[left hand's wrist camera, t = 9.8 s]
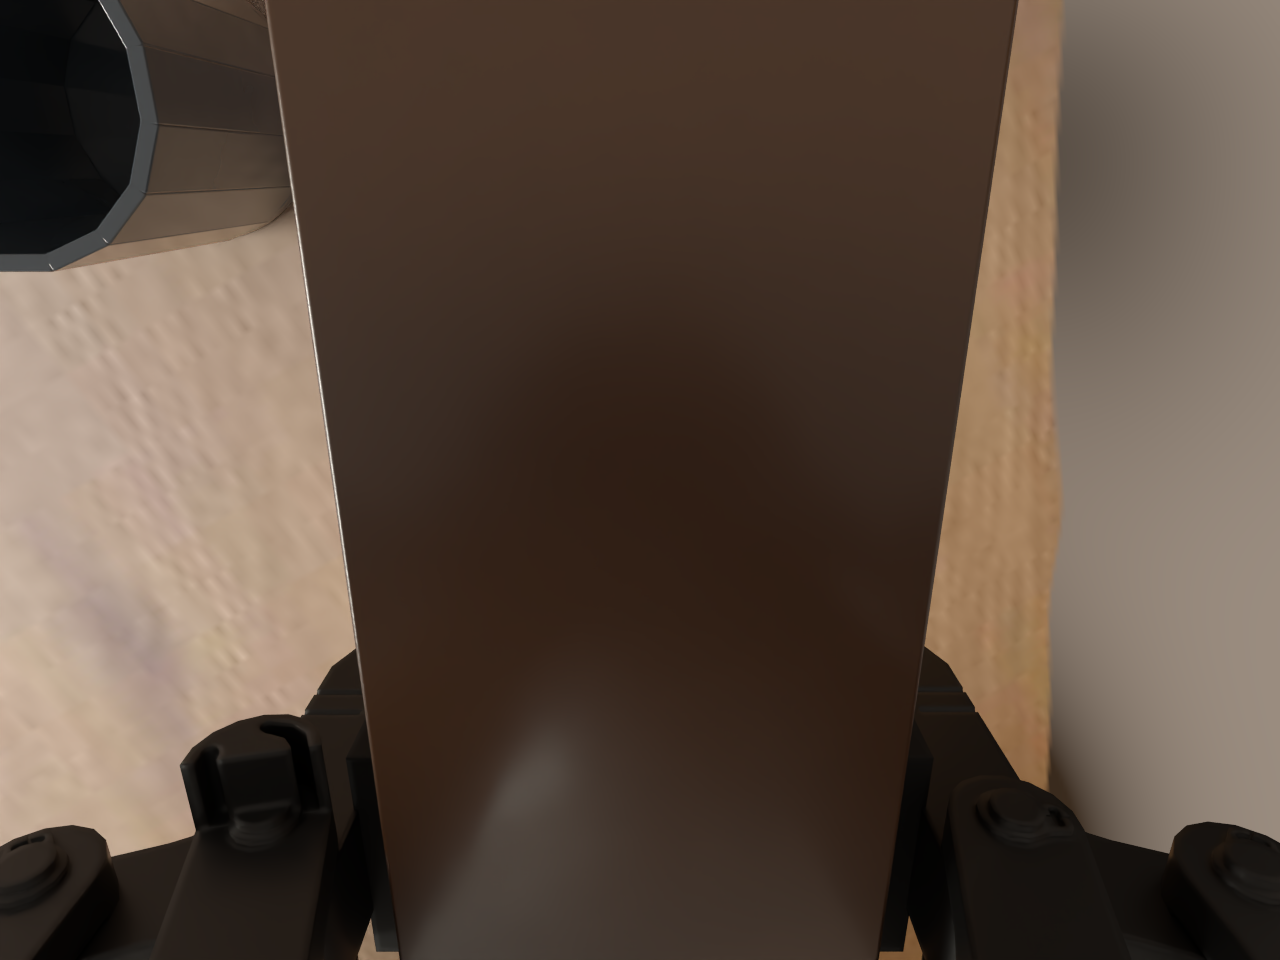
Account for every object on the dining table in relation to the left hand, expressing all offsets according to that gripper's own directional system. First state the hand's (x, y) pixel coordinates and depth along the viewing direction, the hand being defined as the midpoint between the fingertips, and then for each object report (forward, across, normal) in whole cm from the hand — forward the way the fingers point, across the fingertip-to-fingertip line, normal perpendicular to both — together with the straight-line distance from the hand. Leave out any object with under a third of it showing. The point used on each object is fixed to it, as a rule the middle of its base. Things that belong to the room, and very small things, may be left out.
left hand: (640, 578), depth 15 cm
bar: (0, 0, -9) cm, 9 cm away
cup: (+15, +14, -9) cm, 22 cm away
